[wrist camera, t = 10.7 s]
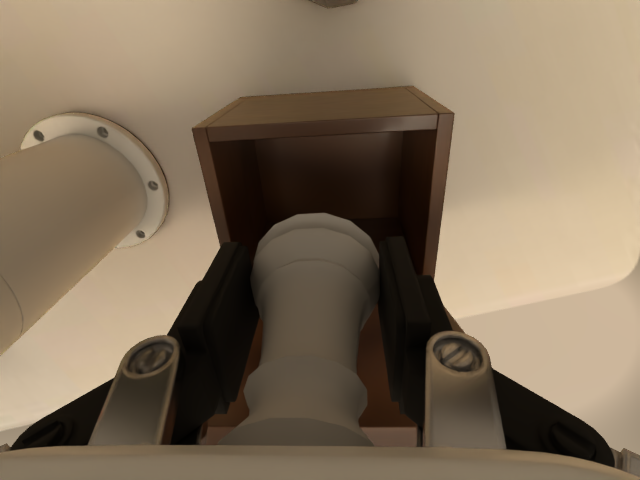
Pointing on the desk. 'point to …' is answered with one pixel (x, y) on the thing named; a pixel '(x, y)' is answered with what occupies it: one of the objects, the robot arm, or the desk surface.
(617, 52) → the desk surface
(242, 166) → the chest
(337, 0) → the water bottle
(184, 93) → the desk surface
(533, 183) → the desk surface
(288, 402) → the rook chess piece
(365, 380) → the lid
